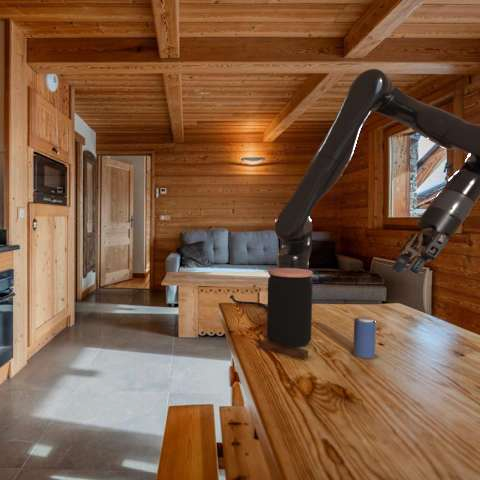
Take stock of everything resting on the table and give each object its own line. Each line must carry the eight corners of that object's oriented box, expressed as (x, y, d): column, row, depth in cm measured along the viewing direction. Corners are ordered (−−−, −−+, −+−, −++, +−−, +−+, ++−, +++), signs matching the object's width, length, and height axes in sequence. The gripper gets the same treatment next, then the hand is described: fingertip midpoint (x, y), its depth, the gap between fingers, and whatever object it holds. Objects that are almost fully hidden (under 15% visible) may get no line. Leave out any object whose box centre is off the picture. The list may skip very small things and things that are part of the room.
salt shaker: (350, 354, 88) (351, 318, 88) (356, 350, 92) (357, 314, 91) (371, 359, 85) (372, 321, 85) (377, 354, 88) (378, 318, 88)
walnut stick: (258, 347, 93) (259, 341, 93) (264, 345, 95) (264, 339, 95) (303, 359, 85) (303, 352, 85) (308, 356, 87) (308, 350, 87)
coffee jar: (312, 338, 101) (314, 269, 100) (309, 350, 91) (311, 274, 90) (270, 332, 105) (271, 266, 104) (263, 344, 95) (264, 271, 94)
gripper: (416, 208, 97) (377, 261, 99) (446, 202, 83) (400, 264, 85) (444, 224, 96) (404, 278, 97) (479, 221, 82) (432, 284, 83)
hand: (402, 271), depth 91 cm, fingers open, 8 cm apart
